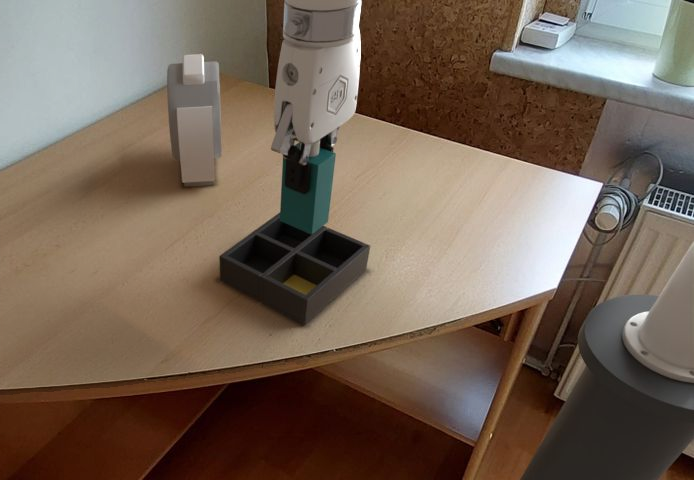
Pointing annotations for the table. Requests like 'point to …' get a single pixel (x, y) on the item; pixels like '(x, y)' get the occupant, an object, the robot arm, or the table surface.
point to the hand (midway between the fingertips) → (307, 180)
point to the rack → (294, 267)
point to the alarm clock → (195, 118)
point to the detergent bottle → (310, 193)
